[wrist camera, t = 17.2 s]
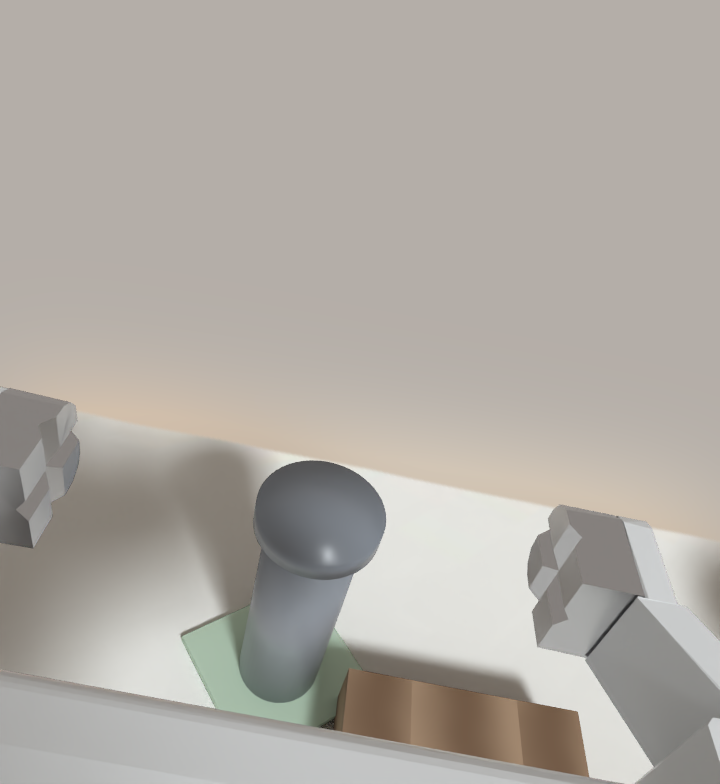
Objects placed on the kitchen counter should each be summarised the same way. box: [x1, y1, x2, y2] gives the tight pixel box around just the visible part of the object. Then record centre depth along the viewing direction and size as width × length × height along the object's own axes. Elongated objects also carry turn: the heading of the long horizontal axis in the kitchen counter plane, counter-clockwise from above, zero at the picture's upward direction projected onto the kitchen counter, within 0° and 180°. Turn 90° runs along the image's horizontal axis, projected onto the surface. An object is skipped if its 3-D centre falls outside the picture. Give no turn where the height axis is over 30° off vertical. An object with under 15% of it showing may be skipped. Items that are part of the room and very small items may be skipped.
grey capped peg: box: [239, 461, 386, 703], centre depth 37 cm, size 6×6×15 cm
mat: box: [182, 605, 363, 728], centre depth 41 cm, size 9×9×1 cm
